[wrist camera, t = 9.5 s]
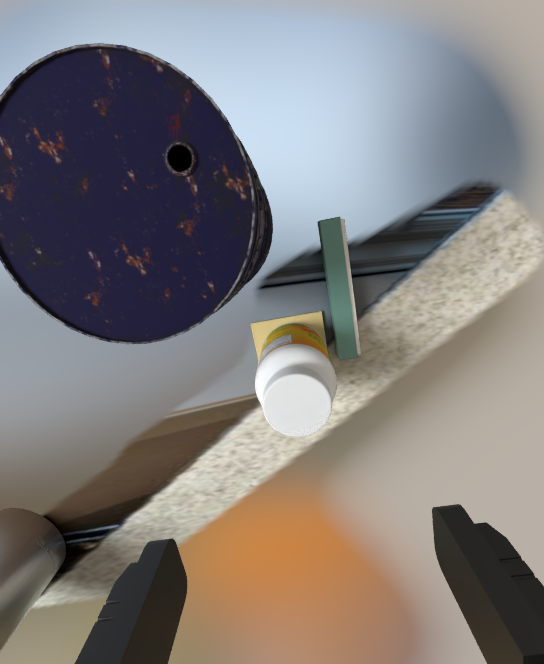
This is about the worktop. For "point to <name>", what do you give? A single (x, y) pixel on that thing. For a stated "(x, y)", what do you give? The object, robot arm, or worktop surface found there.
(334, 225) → the price rail
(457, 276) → the worktop surface
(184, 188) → the dark blue cylinder
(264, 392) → the supplement bottle
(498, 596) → the robot arm
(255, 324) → the pad
